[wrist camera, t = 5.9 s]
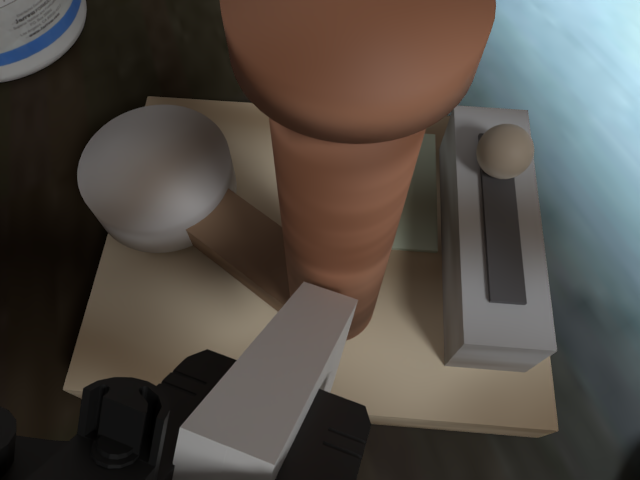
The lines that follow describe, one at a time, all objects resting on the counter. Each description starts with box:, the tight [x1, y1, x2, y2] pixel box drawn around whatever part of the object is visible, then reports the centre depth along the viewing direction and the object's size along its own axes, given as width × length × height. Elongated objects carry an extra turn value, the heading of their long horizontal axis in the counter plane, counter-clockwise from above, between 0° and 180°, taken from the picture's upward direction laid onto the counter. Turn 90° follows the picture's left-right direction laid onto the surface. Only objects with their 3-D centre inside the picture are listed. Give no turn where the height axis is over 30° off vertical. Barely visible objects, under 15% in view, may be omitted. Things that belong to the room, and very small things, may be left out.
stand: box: [63, 96, 558, 438], centre depth 21 cm, size 14×18×7 cm
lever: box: [77, 0, 496, 341], centre depth 16 cm, size 14×6×14 cm, turn 51°
